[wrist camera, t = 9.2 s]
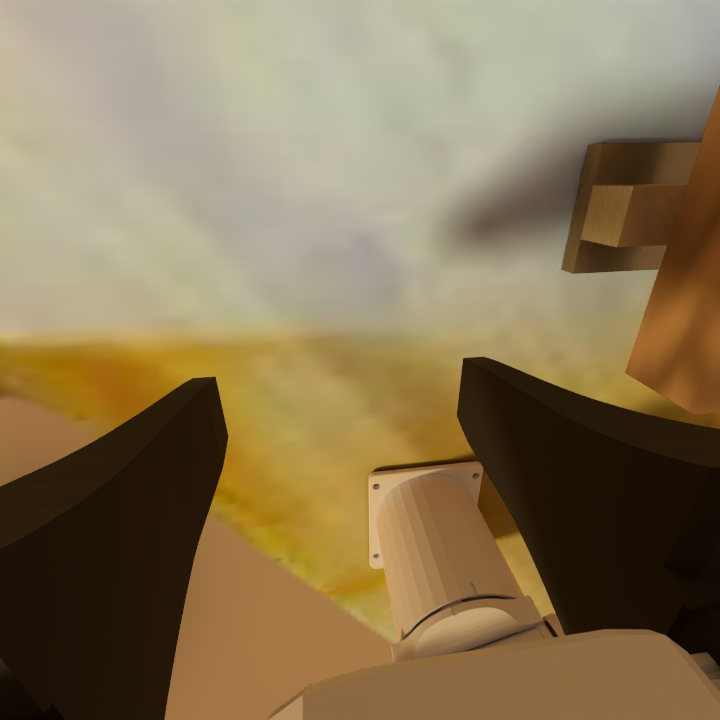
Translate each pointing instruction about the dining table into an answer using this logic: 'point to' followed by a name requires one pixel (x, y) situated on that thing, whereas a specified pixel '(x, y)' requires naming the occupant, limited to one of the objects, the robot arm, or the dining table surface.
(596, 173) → the ridge
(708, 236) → the walnut bar
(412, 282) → the dining table surface
